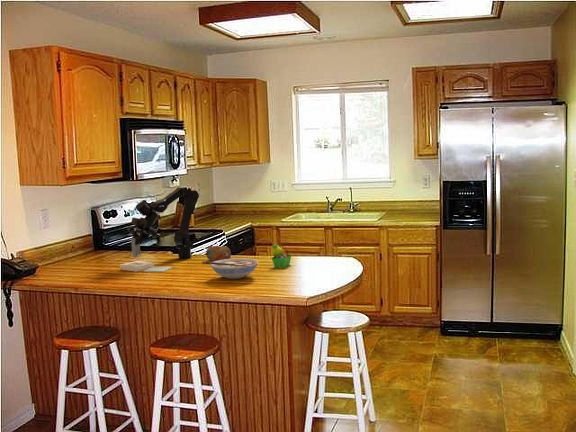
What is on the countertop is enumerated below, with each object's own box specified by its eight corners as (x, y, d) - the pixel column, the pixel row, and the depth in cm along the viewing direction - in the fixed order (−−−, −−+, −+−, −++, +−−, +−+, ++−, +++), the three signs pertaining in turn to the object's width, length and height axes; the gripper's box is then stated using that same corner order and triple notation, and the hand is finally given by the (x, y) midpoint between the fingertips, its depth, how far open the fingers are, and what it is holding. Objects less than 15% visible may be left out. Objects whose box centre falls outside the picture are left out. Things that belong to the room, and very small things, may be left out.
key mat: (153, 267, 332) (153, 266, 332) (172, 267, 329) (172, 266, 329) (144, 271, 322) (143, 270, 321) (163, 272, 319) (163, 270, 319)
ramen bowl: (270, 275, 301) (269, 258, 301) (243, 285, 282) (242, 267, 281) (228, 271, 314) (227, 255, 313) (199, 280, 295) (198, 263, 294)
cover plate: (138, 265, 340) (138, 260, 340) (154, 267, 332) (153, 262, 332) (120, 269, 331) (120, 264, 331) (135, 271, 323) (135, 266, 323)
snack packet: (206, 260, 346) (205, 245, 345) (209, 259, 349) (208, 244, 348) (229, 262, 339) (228, 247, 338) (232, 261, 342) (231, 246, 341)
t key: (135, 255, 334) (134, 237, 333) (142, 256, 330) (141, 237, 329) (130, 256, 332) (129, 237, 330) (137, 257, 328) (136, 238, 327)
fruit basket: (285, 268, 316) (284, 246, 315) (269, 267, 319) (268, 246, 318) (292, 264, 327) (291, 242, 326) (276, 263, 330) (275, 242, 329)
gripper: (128, 211, 337) (112, 234, 330) (150, 212, 325) (135, 236, 318) (141, 223, 344) (126, 246, 337) (163, 225, 332) (148, 249, 325)
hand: (133, 244), depth 329 cm, fingers closed on t key, 3 cm apart
